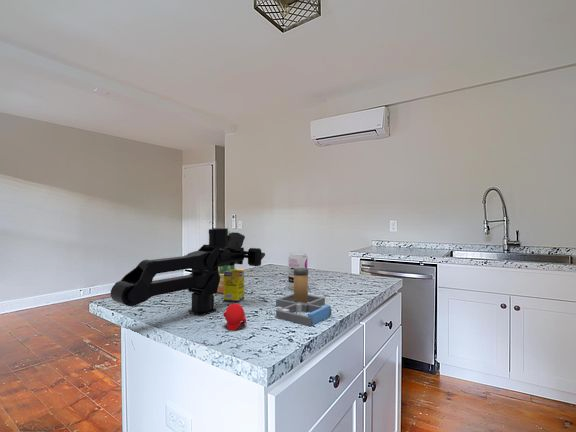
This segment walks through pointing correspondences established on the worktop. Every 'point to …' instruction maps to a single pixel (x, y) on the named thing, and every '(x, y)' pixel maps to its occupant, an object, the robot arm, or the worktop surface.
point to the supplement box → (233, 285)
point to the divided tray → (303, 310)
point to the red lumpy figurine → (234, 316)
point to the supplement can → (295, 266)
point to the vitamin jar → (301, 285)
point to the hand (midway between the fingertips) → (255, 253)
